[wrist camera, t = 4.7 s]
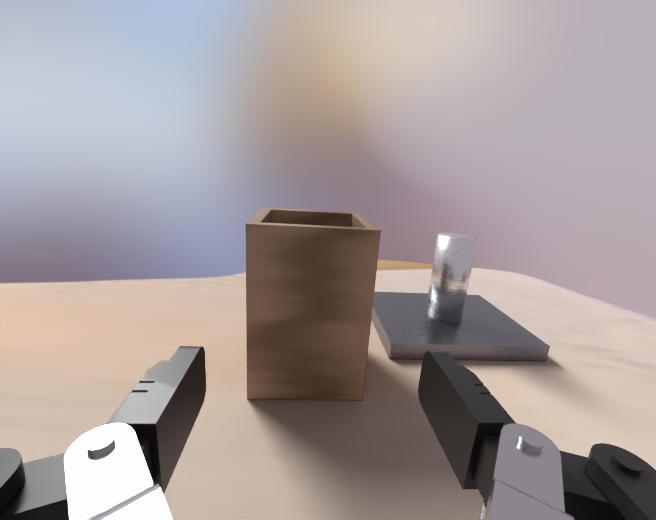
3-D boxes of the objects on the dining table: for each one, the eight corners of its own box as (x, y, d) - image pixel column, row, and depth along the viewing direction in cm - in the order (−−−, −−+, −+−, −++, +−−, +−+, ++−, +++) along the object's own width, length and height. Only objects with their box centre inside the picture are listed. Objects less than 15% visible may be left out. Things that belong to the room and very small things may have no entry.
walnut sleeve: (247, 399, 18) (245, 223, 15) (262, 339, 24) (263, 207, 22) (362, 399, 19) (380, 230, 16) (347, 341, 25) (359, 212, 22)
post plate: (389, 358, 23) (403, 247, 21) (364, 302, 32) (372, 222, 30) (545, 360, 24) (575, 255, 22) (476, 305, 33) (492, 228, 31)
